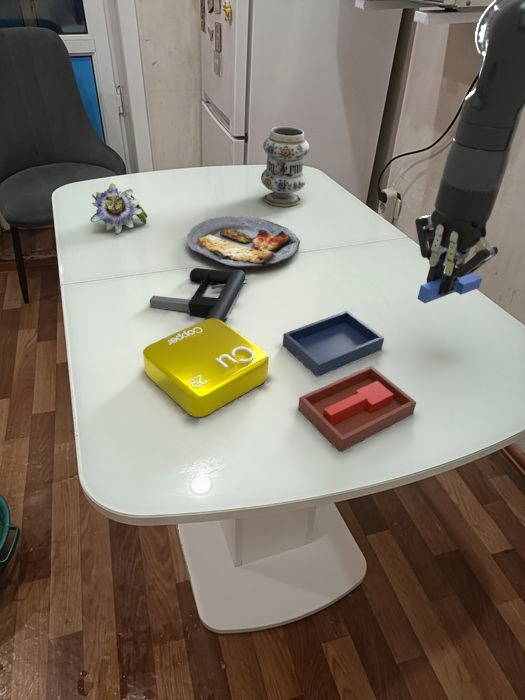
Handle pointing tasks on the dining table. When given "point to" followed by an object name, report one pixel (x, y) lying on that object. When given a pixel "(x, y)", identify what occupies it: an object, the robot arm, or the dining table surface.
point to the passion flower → (117, 208)
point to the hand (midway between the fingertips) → (438, 290)
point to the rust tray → (361, 422)
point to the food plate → (243, 241)
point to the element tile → (205, 366)
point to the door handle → (207, 305)
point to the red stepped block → (359, 403)
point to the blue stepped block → (462, 286)
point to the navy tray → (332, 342)
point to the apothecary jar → (284, 165)
